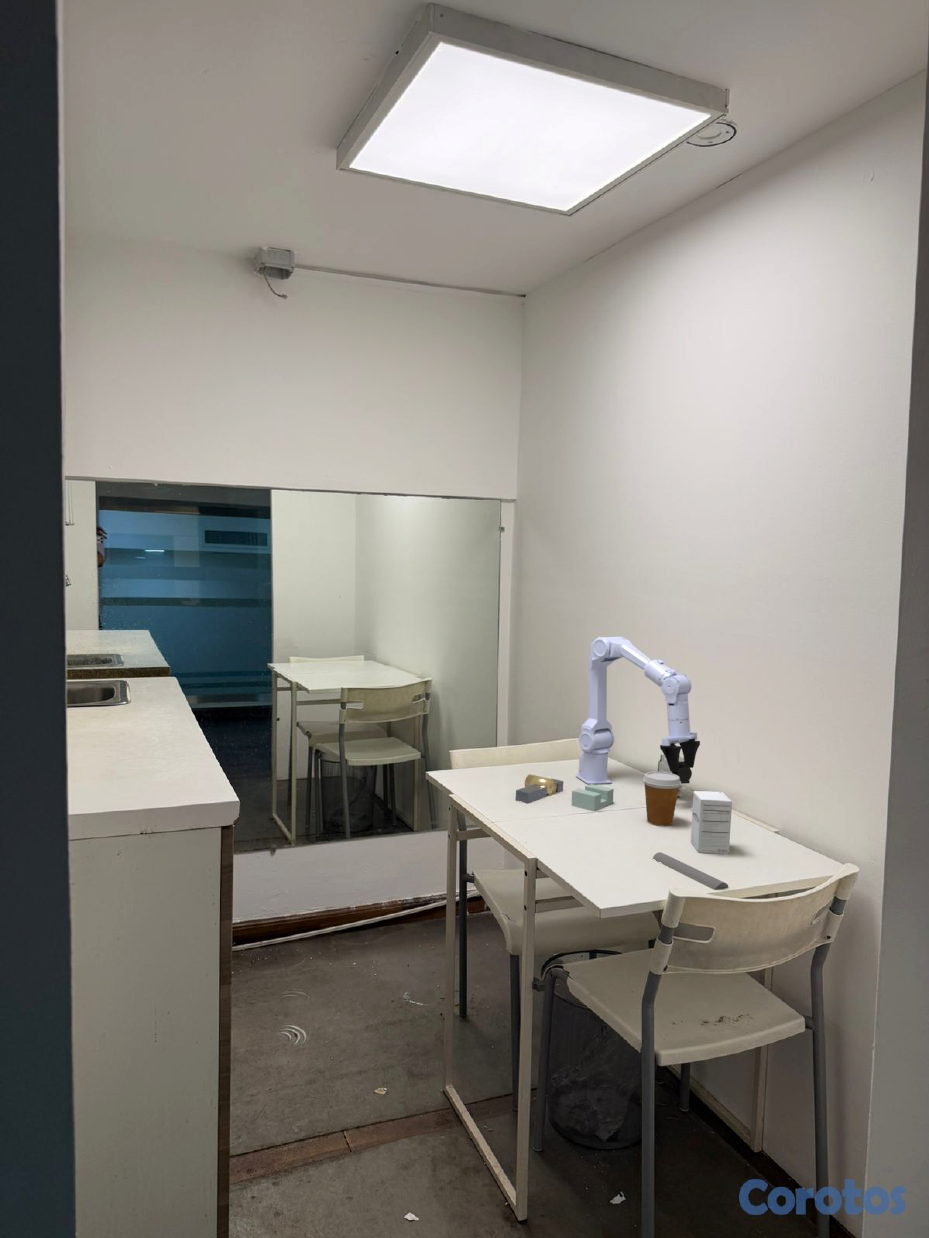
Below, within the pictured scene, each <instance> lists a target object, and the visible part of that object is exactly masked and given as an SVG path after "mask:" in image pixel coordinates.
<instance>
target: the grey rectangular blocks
mask: <svg viewBox="0 0 929 1238" xmlns="http://www.w3.org/2000/svg"><path fill="white" fill-rule="evenodd" d="M552 779H553V780H555V781H556V783H557V788H556V791H555V793H560V792H564V780H560V779H557V778H552ZM547 796H548V794H547V787H546V786H542V785H538V784H533V785H530V786H527V787H525V786H524V787H522V788H519V789H516V790H515V801H516V802H517V801H518V802H520V801H522V802H521V803H524V802H525V803H524V804H529V802H530V803H532V801H533V802H536V801H539V800H541V799H543V798H546V797H547Z"/></svg>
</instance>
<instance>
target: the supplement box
mask: <svg viewBox="0 0 929 1238" xmlns="http://www.w3.org/2000/svg"><path fill="white" fill-rule="evenodd" d="M692 795H693V796H692V797H693V798H692V810H691V811H692V812H691V829H690V843H691V844H692V845H693V846H694V848H695V849H696V851H697V852H698V853H702V854H719V855H721V854H723V855H728V854H730V839H731V828H732V827H731V824H732V808H733V807H732V806H733V801H732V799H730V797H728V795H727V794H726V793H724V792H723V791H710V790H707V791H705V790H704V791H703V790H702V791H701V790H693V793H692Z"/></svg>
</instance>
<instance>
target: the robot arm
mask: <svg viewBox="0 0 929 1238" xmlns="http://www.w3.org/2000/svg"><path fill="white" fill-rule="evenodd" d="M621 658H624V659H626V660H628V661H629V662H631V664H634V665H635V666H637V667H638V668H640V669H642V670H643V672H644V677H646V678H647V679H649V680H650V681H651V682H653V683H654V684H655V685H657V686H658V687H660V690H661V692H662V695H664V697H665V698H664V701H665V702H666V710H667V725H668V726H667V727H668V729H667V730H668V735H666V736H665V737H662V738H661V744H660V745H659V748H660V750H661V752H662V753H663V755H665V757H666V760H667V762H668V766H669V769H670V771H672V772H678V769H679V756H680V753H681V751H682V755H683V756H682V757H683V758H684V763H685V767H686V768H690V769H693V768H694V765H695V760H696V755H697V752H698V749H699V747H700V745H701V741H700V740H698V732H691V722H690V709H689V693H690V692H691V690H692V681H691V679H690V678H689V677H688V675H686V674H684V673H679V674H678V673H677V671H676V670H675V669H671V668H670V667H669V666H667V665H666V664H664V663H665V662H664V661H663V660H662V659H653V660H651V658H649V657H648V656H646V655H645V654H644V653H643V652H642V651H640V650H639V649H638V648H637V647H636V646H635V645H634V644H632V642H631V640H629V639H626V637H624V636H621V635H619V636H605V637H604V636H599V637H597V638H595V639H594V640H593V641H592V642H591V643H590V653H589V657H588V661H587V666H588V667H587V719H586V720H585V722H583V724H582V725H581V727H580V734H579V737H578V745H579V746H580V748H581V752H580V753H579V756H578V774H575V777H576V778H578V779H580V780H581V781H582V782H584V783H586V785H590V784H594V785H600V784H601V785H603V784H613V781H612V780H610V779H608V765H609V764H608V761H609V760H608V759H609V752H610V748H612V747H613V745H614V743H615V736H614V733H613V725H612V723H610V722H609V721H608V719H607V707H608V706H607V705H608V704H607V703H608V701H607V700H608V699H607V698H608V697H607V696H608V695H607V694H608V693H607V692H608V691H607V686H608V685H607V684H608V683H607V682H608V681H607V680H608V677H607V676H608V675H607V674H608V673H607V672H608V670H607V669H608V667H609V666H610V665H611V664H613V662H614V661H616V660H619V659H621ZM676 744H678V745H676Z"/></svg>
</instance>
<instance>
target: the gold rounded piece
mask: <svg viewBox="0 0 929 1238" xmlns="http://www.w3.org/2000/svg"><path fill="white" fill-rule="evenodd" d="M553 779H554V778H548V777H544V776H539V775H535V774H528V775H527V776H526V777H525V780H524V787H527V786H530V785H533V784H538V785H542V786H546V787H547V796H552V795H554V794H555V793H556V792H555V791H556V788H557V783H556V781H555V780H553Z"/></svg>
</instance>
